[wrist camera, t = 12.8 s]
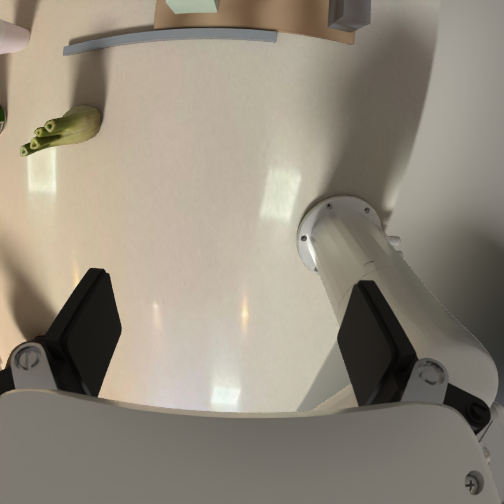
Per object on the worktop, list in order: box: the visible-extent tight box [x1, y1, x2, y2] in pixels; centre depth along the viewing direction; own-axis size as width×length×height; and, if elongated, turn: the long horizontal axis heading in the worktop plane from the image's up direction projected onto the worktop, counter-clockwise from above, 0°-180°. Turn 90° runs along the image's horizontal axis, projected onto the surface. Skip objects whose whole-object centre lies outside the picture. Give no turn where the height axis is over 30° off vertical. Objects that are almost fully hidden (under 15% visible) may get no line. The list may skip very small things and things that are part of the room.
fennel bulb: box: [20, 105, 101, 156], centre depth 27 cm, size 6×5×12 cm
